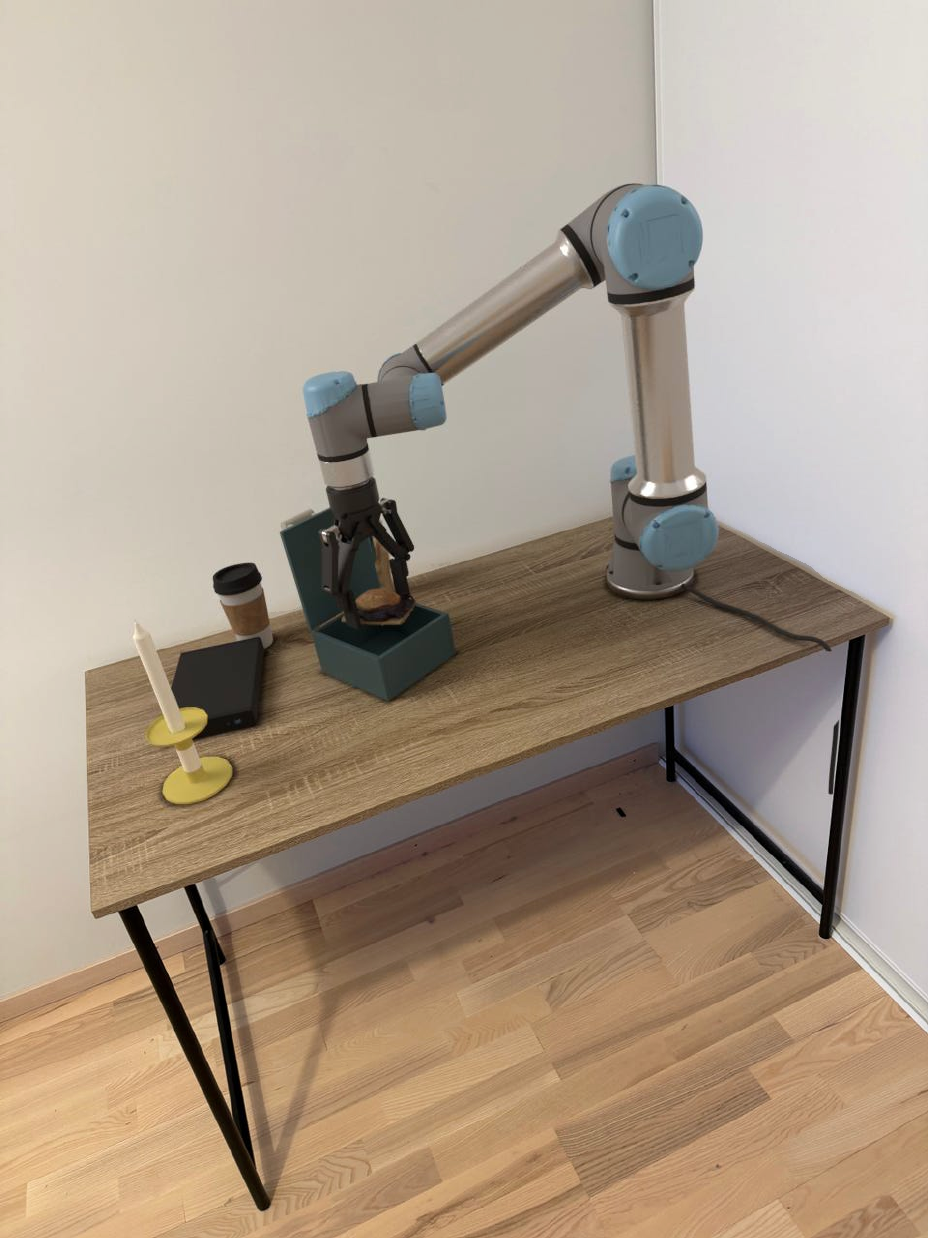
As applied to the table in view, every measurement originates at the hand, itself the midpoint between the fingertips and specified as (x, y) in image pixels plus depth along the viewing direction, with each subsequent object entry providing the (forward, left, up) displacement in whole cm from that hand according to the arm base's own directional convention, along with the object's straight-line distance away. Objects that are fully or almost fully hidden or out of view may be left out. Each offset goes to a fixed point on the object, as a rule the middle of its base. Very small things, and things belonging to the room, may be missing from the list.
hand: (379, 611), depth 135 cm
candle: (+3, +36, -10) cm, 38 cm away
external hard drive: (+20, +22, -10) cm, 31 cm away
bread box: (+1, 0, -10) cm, 10 cm away
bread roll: (0, 0, 0) cm, 0 cm away
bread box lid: (+9, 0, +7) cm, 11 cm away
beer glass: (+20, -16, -10) cm, 27 cm away
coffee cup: (+28, +8, -10) cm, 31 cm away
